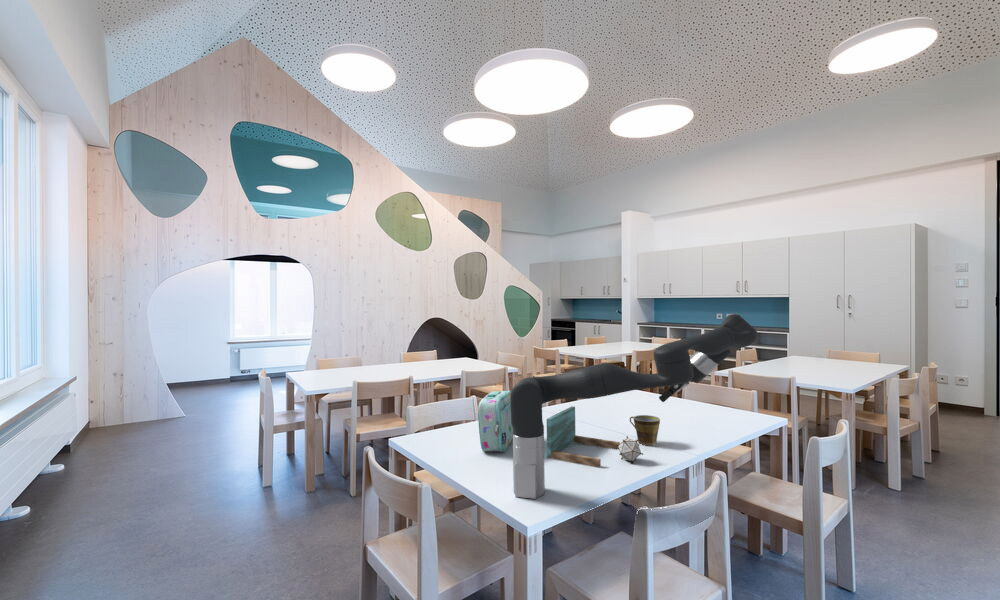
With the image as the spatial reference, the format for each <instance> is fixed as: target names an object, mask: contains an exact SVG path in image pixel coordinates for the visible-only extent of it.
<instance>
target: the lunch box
mask: <svg viewBox="0 0 1000 600" xmlns="http://www.w3.org/2000/svg"><path fill="white" fill-rule="evenodd" d="M511 391H512V390H502V391H501V390H500V391H499V390H497V391H493V390H492V391H491V392H489V393H488V394H486V395H485V396H484V397H483V398H482V399H481V400H480V401H479V403H478V408H477V412H478V413H477V414H478V415H477V419H478V431H479V432H478V433H479V441H480V442H479V443H480V449H481V450H482V452H501V453H503V452H505V451H506V450H507V449H508V447H509V446H510V444H511V443H512V441H513V428H512V424H511V404H510V398H511Z"/></svg>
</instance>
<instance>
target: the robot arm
mask: <svg viewBox="0 0 1000 600" xmlns="http://www.w3.org/2000/svg"><path fill="white" fill-rule="evenodd" d="M758 336H759V335H758V331H757V329H756V328H755V327H753V326H752V325H751V324H750V323H749V322H748V321H747V320H746V319H744V318H743V317H742V316H741V315H740V314H738V313H733V314H729V315H728V316H726V317H725V318H724V319H723V320H722V322H721V324H720V325H719V326H718V327H716V328H713V329H711V330H709V331H707V332H705V333H702V334H698V335H694V336H690V337H686V338H682V339H677V340H674V341H672V342H667V343H664V344H662V345H660V346H657V347H656V348H655V349H654V351H653V359H654V364H655V367H656V373H640V372H636V371H634V370H630V369H627V368H624V367H622V366H619V365H616V364H613V363H608V362H603V363H598V364H594V365H589V366H584V367H579V368H576V369H571V370H569V371H566V372H563V373H560V374H559V373H558V374H553V375H546V376H544V375H543V376H533V377H532V376H531V377H525V378H522V379H521V380H519V381H518V382H517V383H516V384H515V385H514V386H513V387H512V389H511V390H510V391H511V398H510V404H511V424H512V428H513V438H512V465H513V467H512V471H513V472H512V474H513V477H512V478H513V479H512V480H513V493H514V494H515V495H514V496H515V497H516V498H523V499H524V498H525V499H533V500H537V499H538V498H540V497H542V496H543V495H545V492H546V490H545V487H546V485H545V484H546V483H545V481H546V479H545V478H546V477H545V425H544V422H543V404H546V403H549V402H553V401H557V400H561V399H562V400H563V399H572V400H573V399H578V400H579V399H580V400H581V399H583V400H584V399H585V400H586V399H587V400H589V399H590V400H591V399H597V398H602V397H607V396H612V395H617V394H621V393H627V392H631V391H637V390H644V389H653V388H660V387H661V388H663V387H667V388H666V390H665V391H664V392H662V394H661V395H659V397H658V399H659V400H660V401H661V402H662V403H665V402H666V401H667V400H668V399H669V398H670V397H672V396H674V395H675V394H676V393H679V392H680V391H682V389H684V388H686V387H687V386H688V385H689V384H690V382H692V383H695V384H699V383H700V382H701V381H702V380H704V379H705V378H706V377H707V376H708V375H710V374H711V373H712V372H713V371H714V370H715V369H716V368H717V367H718V366H719V365H720V364H721V363H722V362H723V361H724V360H725V359H726V358H728V357H729V356H730V355H731V354H732V352H731V349H742V348H746V347H749V346H752V344H754V343H755V342H756V341H757V339H758ZM689 350H693V351H695V352H694V353H693V354H692V355H691V356H690V353H689Z"/></svg>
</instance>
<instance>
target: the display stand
mask: <svg viewBox="0 0 1000 600" xmlns="http://www.w3.org/2000/svg"><path fill="white" fill-rule="evenodd" d="M574 443H575V444H580V443H581V445H586V444H587V446H592V445H594V447H598V446H600V448H605V449H611V448H612V449H613V450H617V449H619V448H618V446H616V445H619V444H620V443H621V442H620V441H615V440H609V439H602V438H594V437H588V436H582V435H576V406H570V407H568V408H565V409H564V410H561V411H560V412H558V413H556V414H553V415H552V416H550V417H547V418H546V458H547V459H550V460H551V459H552V460H557V461H562V462H569V463H573V464H578V465H584V466H588V465H589V467H595V468H601V466H602V465H601V464H602V463H601V462H602V461H601V459H602V458H598V457H593V456H592V457H591V456H588V455H587V456H586V455H581V454H577V453H570V452H564V450H566V449H567V448H569V447H570V446H572V445H573V444H574ZM565 448H566V449H565ZM562 450H563V451H562Z"/></svg>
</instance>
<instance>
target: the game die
mask: <svg viewBox="0 0 1000 600" xmlns="http://www.w3.org/2000/svg"><path fill="white" fill-rule="evenodd" d="M616 446H618V448H619V456H621V458H620V460H623V459H625V460H627V461H629V462H630V463H631V464H633V463H634V462H633V461H634V460H637V458H638V457H639V456H640V455H644V453H643V452H641V451H642V450H641V449H640V444H639V442H638V439H636V440H634V439H632V438H629V436H628V435H626V438H624V439H622V442H620V444H619V445H616Z"/></svg>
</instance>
